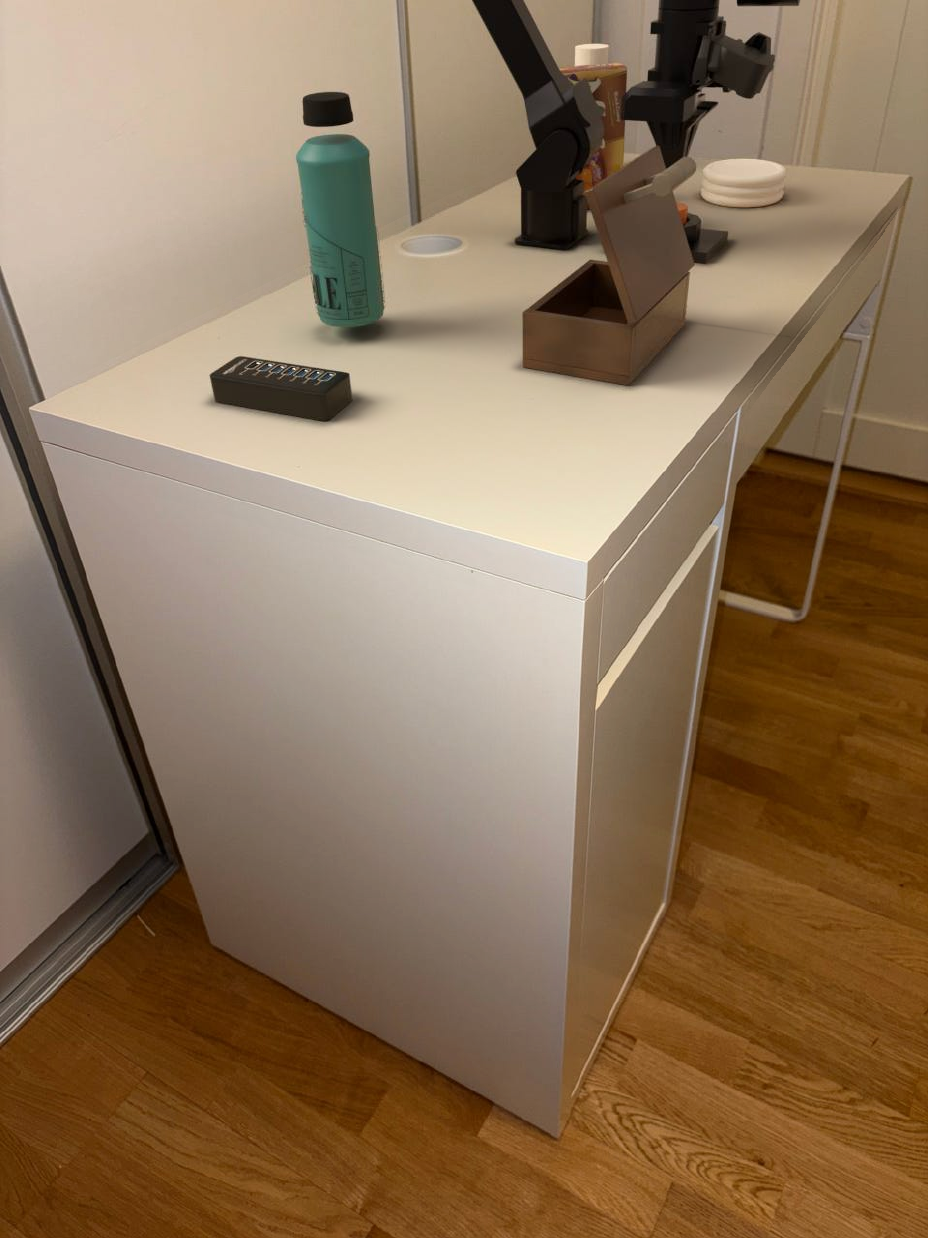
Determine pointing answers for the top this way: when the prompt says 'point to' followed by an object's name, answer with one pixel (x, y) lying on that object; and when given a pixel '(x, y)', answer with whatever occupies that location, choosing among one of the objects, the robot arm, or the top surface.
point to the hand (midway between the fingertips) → (674, 179)
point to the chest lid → (643, 229)
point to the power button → (682, 211)
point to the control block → (703, 239)
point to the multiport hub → (282, 387)
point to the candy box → (604, 117)
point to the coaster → (743, 182)
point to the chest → (598, 327)
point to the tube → (591, 54)
